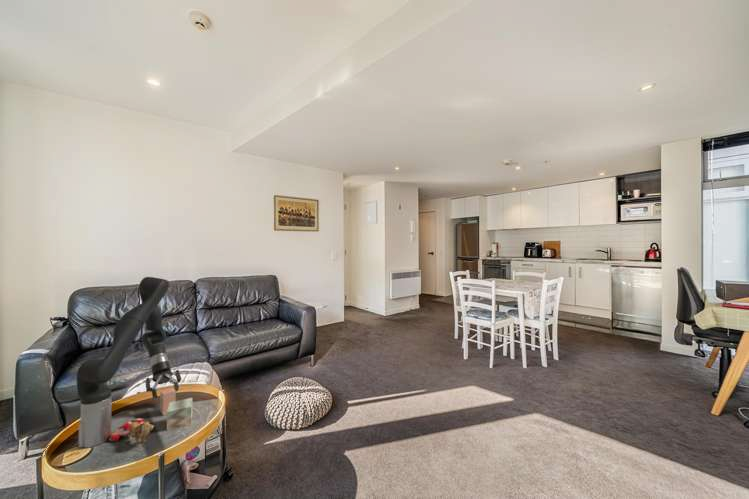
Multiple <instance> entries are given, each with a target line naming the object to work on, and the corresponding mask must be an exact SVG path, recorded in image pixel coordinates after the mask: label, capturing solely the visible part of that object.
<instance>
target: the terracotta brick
mask: <svg viewBox="0 0 749 499" xmlns="http://www.w3.org/2000/svg"><path fill="white" fill-rule="evenodd" d="M176 393H177V392H176V391H175V389H174V386H173V387H169V388H166V389H163V390H160V398H159V400H160V401H159V402H160V403H159V404H160V405H159V406H160V407H159V408H160V410H159V411H160V413H161V414H162V416H163V417H164V416H167V410H168V406H169V402H174V401H177V400H176V395H177V394H176Z"/></svg>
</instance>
